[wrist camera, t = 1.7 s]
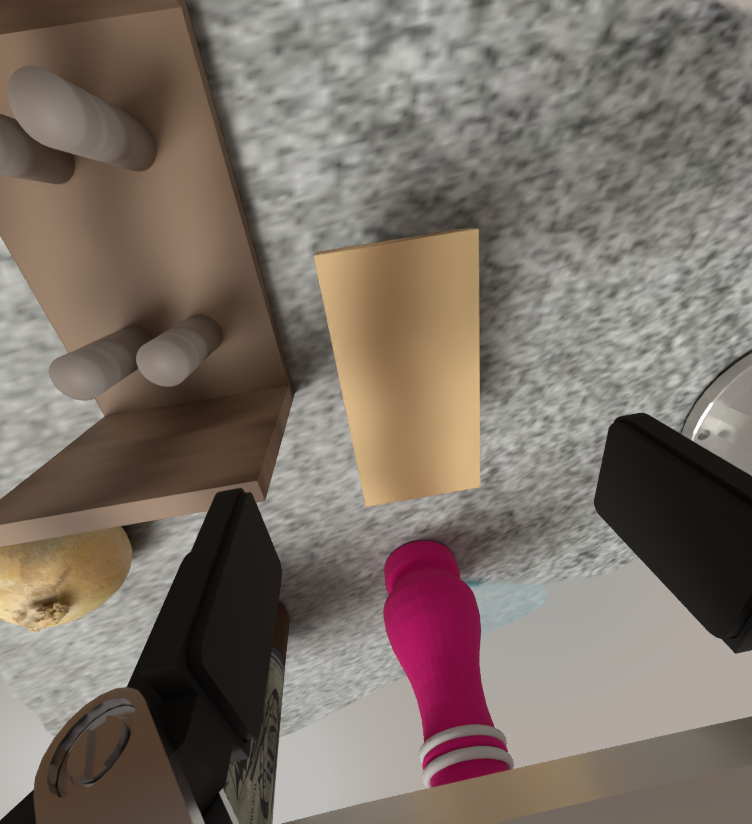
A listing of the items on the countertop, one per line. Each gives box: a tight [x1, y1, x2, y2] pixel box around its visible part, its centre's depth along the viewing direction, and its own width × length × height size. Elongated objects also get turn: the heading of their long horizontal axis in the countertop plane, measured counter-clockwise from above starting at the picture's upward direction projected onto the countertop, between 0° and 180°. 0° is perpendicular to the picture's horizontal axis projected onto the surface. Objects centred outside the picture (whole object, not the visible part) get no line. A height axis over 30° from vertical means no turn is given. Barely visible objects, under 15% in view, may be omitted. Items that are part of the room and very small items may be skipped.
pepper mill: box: [383, 541, 514, 788], centre depth 22 cm, size 7×7×20 cm
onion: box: [0, 526, 132, 632], centre depth 23 cm, size 8×8×7 cm
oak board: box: [314, 229, 480, 507], centre depth 16 cm, size 6×12×2 cm, turn 8°
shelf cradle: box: [0, 0, 295, 547], centre depth 14 cm, size 11×18×10 cm, turn 8°
